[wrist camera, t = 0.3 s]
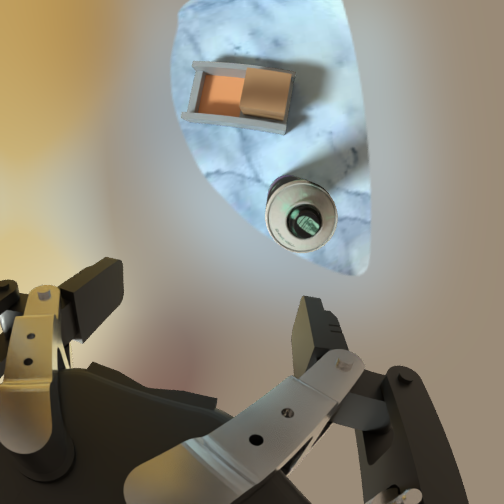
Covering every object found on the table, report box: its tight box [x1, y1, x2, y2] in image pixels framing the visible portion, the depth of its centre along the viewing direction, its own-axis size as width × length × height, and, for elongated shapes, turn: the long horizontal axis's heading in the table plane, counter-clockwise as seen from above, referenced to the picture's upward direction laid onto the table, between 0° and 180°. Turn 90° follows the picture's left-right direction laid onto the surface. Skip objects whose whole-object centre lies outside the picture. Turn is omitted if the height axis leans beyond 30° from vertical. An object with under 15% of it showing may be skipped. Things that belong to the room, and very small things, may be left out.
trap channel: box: [181, 61, 296, 135], centre depth 31 cm, size 8×13×4 cm, turn 81°
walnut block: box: [239, 67, 292, 121], centre depth 29 cm, size 5×5×5 cm
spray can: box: [265, 175, 338, 253], centre depth 27 cm, size 6×6×20 cm
